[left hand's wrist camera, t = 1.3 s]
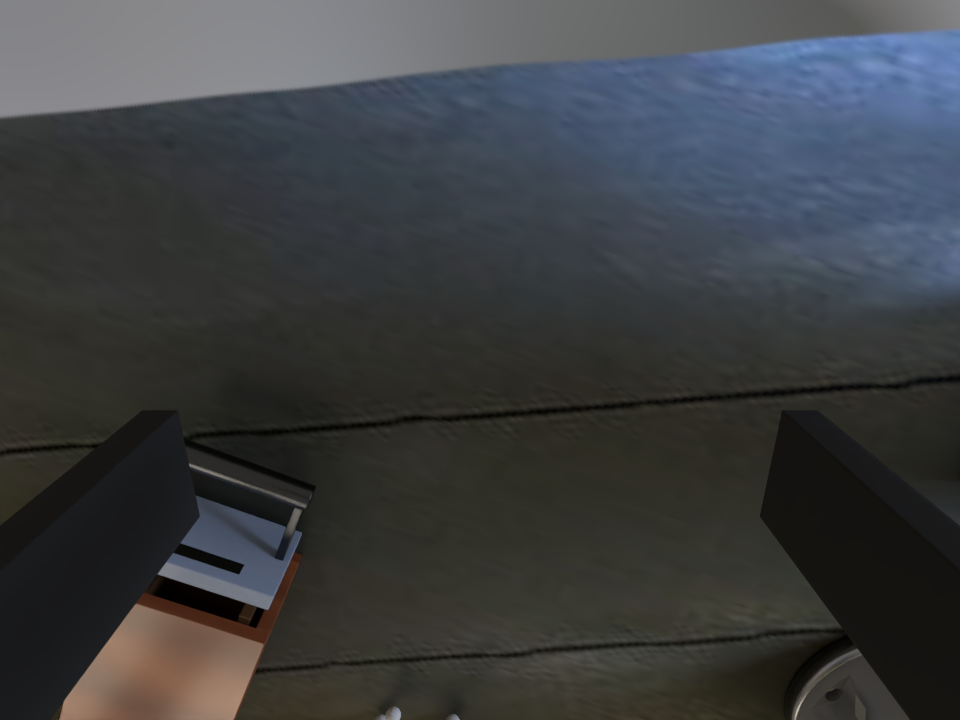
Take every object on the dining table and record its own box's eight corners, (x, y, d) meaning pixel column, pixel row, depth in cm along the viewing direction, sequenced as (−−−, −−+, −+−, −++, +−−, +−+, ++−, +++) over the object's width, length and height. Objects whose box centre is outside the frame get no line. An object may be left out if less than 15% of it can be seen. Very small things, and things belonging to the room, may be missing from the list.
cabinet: (163, 506, 42) (91, 589, 34) (302, 554, 43) (264, 644, 36) (119, 658, 47) (48, 759, 39) (245, 696, 49) (201, 800, 41)
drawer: (194, 415, 38) (142, 465, 32) (329, 464, 39) (303, 521, 34) (129, 635, 45) (77, 710, 39) (246, 671, 46) (212, 749, 40)
